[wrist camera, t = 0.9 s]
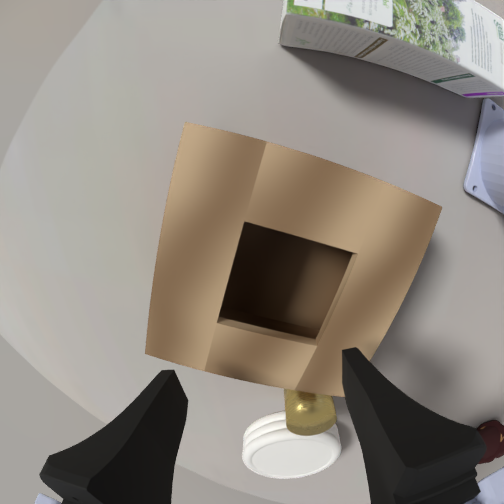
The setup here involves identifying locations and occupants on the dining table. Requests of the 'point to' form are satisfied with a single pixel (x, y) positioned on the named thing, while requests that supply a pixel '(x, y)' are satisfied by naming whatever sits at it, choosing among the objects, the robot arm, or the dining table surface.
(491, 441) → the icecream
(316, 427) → the cylinder
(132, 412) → the robot arm
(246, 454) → the coaster
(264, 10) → the dining table surface
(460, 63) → the syrup box
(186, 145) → the box
